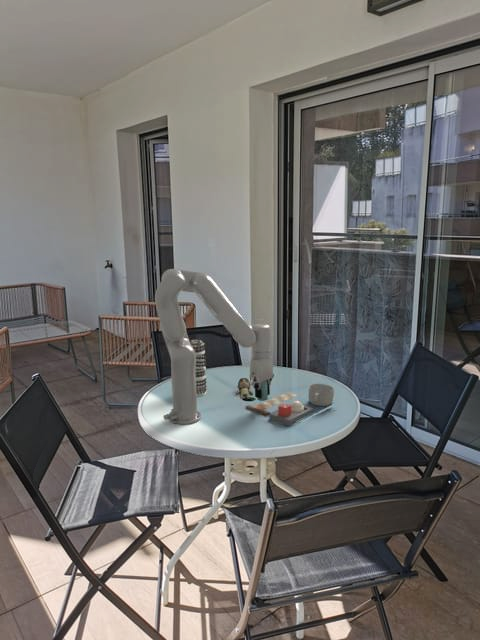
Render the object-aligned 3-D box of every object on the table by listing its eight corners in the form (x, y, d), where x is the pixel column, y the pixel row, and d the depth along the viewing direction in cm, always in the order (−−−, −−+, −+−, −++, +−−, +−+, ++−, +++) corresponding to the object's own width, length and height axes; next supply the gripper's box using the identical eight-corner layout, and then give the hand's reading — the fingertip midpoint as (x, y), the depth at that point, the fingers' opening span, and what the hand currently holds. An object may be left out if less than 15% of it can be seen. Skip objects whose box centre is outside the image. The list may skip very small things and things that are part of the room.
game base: (289, 426, 184) (289, 411, 183) (269, 419, 191) (269, 404, 190) (313, 414, 196) (313, 399, 194) (294, 407, 202) (294, 393, 201)
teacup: (315, 398, 213) (315, 381, 211) (338, 403, 206) (338, 385, 205) (300, 408, 201) (300, 390, 200) (323, 414, 195) (324, 395, 194)
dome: (297, 417, 191) (297, 405, 190) (286, 413, 195) (286, 401, 194) (306, 413, 195) (306, 400, 194) (295, 409, 200) (295, 397, 198)
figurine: (236, 393, 209) (235, 375, 223) (236, 405, 212) (235, 387, 226) (253, 393, 210) (252, 375, 223) (253, 405, 212) (252, 387, 226)
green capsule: (262, 401, 197) (261, 380, 195) (255, 398, 201) (254, 378, 199) (269, 398, 200) (269, 377, 198) (262, 396, 203) (262, 375, 202)
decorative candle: (203, 397, 216) (201, 344, 210) (184, 395, 219) (182, 342, 213) (210, 390, 224) (209, 339, 219) (192, 388, 227) (190, 337, 222)
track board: (267, 415, 195) (267, 413, 194) (245, 408, 203) (245, 405, 203) (304, 398, 212) (304, 396, 212) (283, 392, 220) (283, 390, 220)
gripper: (268, 348, 205) (268, 388, 208) (240, 357, 193) (242, 399, 197) (281, 351, 199) (282, 392, 203) (254, 360, 188) (255, 404, 192)
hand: (262, 395), depth 200 cm, fingers closed on green capsule, 4 cm apart
